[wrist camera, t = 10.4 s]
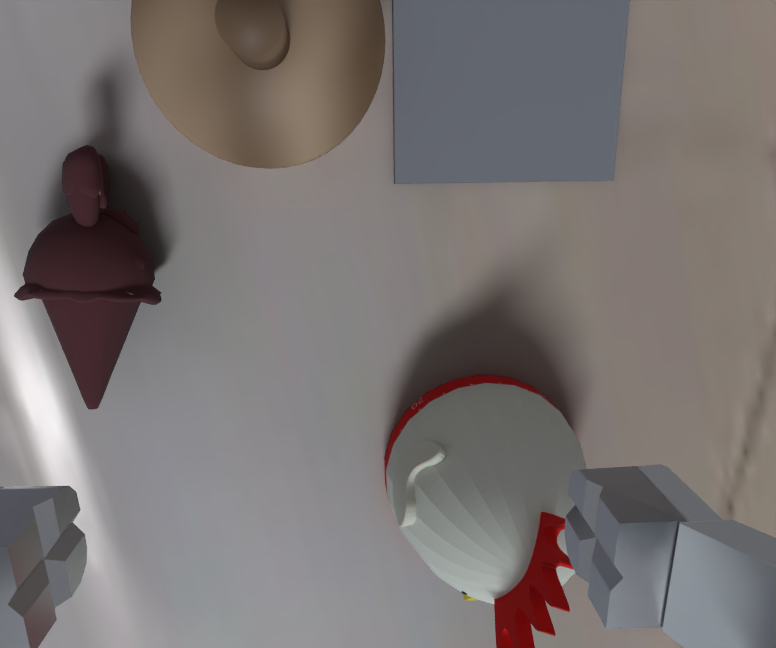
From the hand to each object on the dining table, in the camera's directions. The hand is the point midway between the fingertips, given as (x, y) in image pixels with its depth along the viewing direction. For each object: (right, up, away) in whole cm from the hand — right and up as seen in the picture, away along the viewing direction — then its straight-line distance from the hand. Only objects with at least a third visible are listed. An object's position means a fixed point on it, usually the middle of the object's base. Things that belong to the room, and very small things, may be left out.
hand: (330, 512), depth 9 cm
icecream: (-16, +6, +26) cm, 31 cm away
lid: (-5, +17, +19) cm, 26 cm away
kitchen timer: (+8, -7, +32) cm, 33 cm away
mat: (+8, +18, +25) cm, 32 cm away
